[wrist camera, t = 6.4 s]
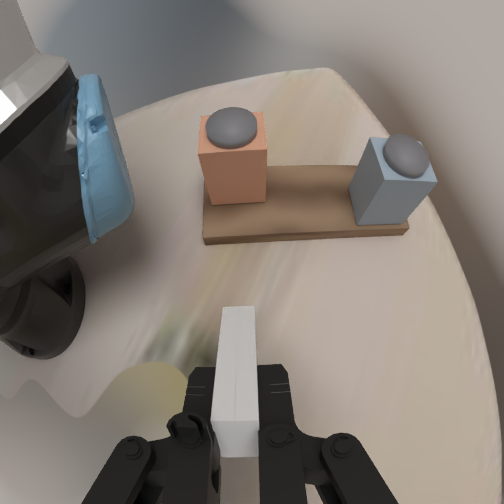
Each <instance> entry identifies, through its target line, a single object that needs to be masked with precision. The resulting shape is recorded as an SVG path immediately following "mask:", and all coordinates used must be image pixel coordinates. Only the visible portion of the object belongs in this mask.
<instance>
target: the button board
mask: <svg viewBox="0 0 504 504" xmlns="http://www.w3.org/2000/svg"><path fill="white" fill-rule="evenodd" d="M357 167H358V166H350V165H302V166H268V167H267V171H266V202H255V203H237V204H222V205H212V204H211V200H210V197H209V193H208V189H207V186H206V182H205V179H204V203H203V240H204V242H205V245H214V244H231V243H249V242H268V241H287V240H307V239H327V238H348V237H370V236H392V235H403V234H404V233H405V232H406V231H407V230H408V229H409V224H408V221H407V219H406V220H405V221H404V222H403V224H377V225H357V224H356V219H355V215H354V210H353V206H352V201H351V197H350V193H349V189H348V187H349V185H350V182H351V180H352V178H353V176H354V173H355V171H356V169H357Z"/></svg>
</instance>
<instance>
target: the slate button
mask: <svg viewBox="0 0 504 504" xmlns="http://www.w3.org/2000/svg"><path fill="white" fill-rule="evenodd" d="M436 183H437V180H436V177H435V174H434V171H433V169H432V166H431V164H430V161H429V156H428V154H427V152H426V150H425V149H424V148H423V146H422V144H421V142H418V141H416V140H415V139H413V138H411V137H409V136H406V135H402V134H395V135H392V136H390V137H389V138H375V137H370V138H369V141H368V143H367V145H366V148H365V150H364V153H363V155H362V157H361V160H360V162H359V164H358V167H357V169H356V171H355V173H354V176H353V178H352V180H351V182H350V185H349V187H348V189H349V193H350V197H351V201H352V206H353V210H354V215H355V219H356V224H357V225H377V224H403V222H404V221H405V220H406V219H407V218H408V217H409V216H410V214H411V213H412V212H413V211H414V210H415V209H416V207H417V206H418V205H419V204H420V203H421V202H422V200H423V199H424V198H425V197H426V196H427V194H428V193H429V192H430V191H431V189H432V188H433V187H434V186H435V185H436Z"/></svg>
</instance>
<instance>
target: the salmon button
mask: <svg viewBox="0 0 504 504" xmlns="http://www.w3.org/2000/svg"><path fill="white" fill-rule="evenodd" d="M198 156H199V160H200V164H201V167H202V171H203V175H204V179H205V182H206V186H207V189H208V193H209V197H210V200H211V204H212V205H222V204H237V203H255V202H266V171H267V144H266V135H265V126H264V117H263V112H250V111H248V110H246V109H243V108H238V107H230V108H224V109H221V110H218V111H216V112H215V113H213V114H212V115H208V116H201V121H200V133H199V145H198Z"/></svg>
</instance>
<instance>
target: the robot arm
mask: <svg viewBox="0 0 504 504" xmlns="http://www.w3.org/2000/svg"><path fill="white" fill-rule="evenodd" d="M133 208H134V193H133V189H132V184H131V181H130V177H129V173H128V169H127V166H126V162H125V159H124V155H123V151H122V148H121V144H120V141H119V137H118V134H117V130H116V127H115V123H114V120H113V116H112V113H111V109H110V106H109V102H108V99H107V96H106V93H105V90H104V88H103V85H102V81H101V78H100V76H99V75H97V74H89V75H87V74H84V75H82V76H81V77H80V78H79V79H77V78H76V77H75V76H74V74H73V72H72V70H71V67H70V66H69V63H68V61H67V59H66V58H63V57H58V56H53V55H48V54H43V53H40V51H39V50H37V48H36V47H35V44H34V42H33V40H32V38H31V35H30V33H29V31H28V28H27V26H26V23H25V21H24V18H23V16H22V13H21V10H20V8H19V5H18V2H17V0H0V340H1V341H3V342H4V343H5V344H7V345H8V346H9V347H11V348H12V349H14V350H15V351H16V352H18V353H19V354H21V355H24V356H26V357H30V358H37V359H49V358H52V357H55V356H57V355H59V354H60V353H61V352H63V351H64V350H65V349H66V348H67V347H68V346H69V344H70V343H71V342H72V340H73V339H74V337H75V335H76V333H77V331H78V329H79V327H80V324H81V320H82V317H83V312H84V305H85V289H84V282H83V278H82V274H81V272H80V269H79V267H78V265H77V264H76V262H75V261H74V259H73V258H72V257H71V256H70V255H71V254H73V253H75V252H77V251H78V250H80V249H82V248H84V247H86V246H88V245H90V244H94V243H95V242H97V241H98V238H100V237H101V236H103V235H104V234H106V233H108V232H109V231H111V230H113V229H114V228H116V227H118V226H119V225H121V224H123V223H124V222H125V221H126V220H127V219H128V218H129V217H130V215H131V213H132V211H133ZM167 428H168V430H169V432H170V434H171V436H170V437H168V438H164V439H160V440H155V441H149V442H147V441H146V440H145V439H143V438H142V437H138V436H129V437H126V438H124V439H122V440H121V441H120V442H119V443H118V444H117V446H116V447H115V449H114V451H113V452H112V454H111V456H110V457H109V459H108V460H107V462H106V464H105V465H104V467H103V469H102V470H101V472H100V474H99V475H98V477H97V479H96V480H95V482H94V484H93V485H92V487H91V489H90V490H89V492H88V493H87V495H86V497H85V498H84V500H83V502H82V504H161V503H162V504H220V488H221V466H220V454H221V457H259V483H260V504H307V496H306V488H305V483H306V484H312V485H315V487H316V489H317V491H318V493H319V495H320V498H321V500H322V502H323V504H398V502H397V500H396V499H395V497H394V496H393V494H392V492H391V491H390V489H389V488H388V486H387V485H386V483H385V481H384V480H383V478H382V477H381V475H380V473H379V472H378V470H377V469H376V467H375V465H374V464H373V462H372V461H371V459H370V457H369V456H368V454H367V452H366V451H365V449H364V448H363V446H362V444H361V443H360V441H359V440H358V439H357V438H356V437H355V436H353V435H351V434H348V433H337V434H333V435H331V436H330V437H328V438H327V439H326V438H319V437H313V436H309V435H306V434H304V433H303V432H301V431H300V430H299V429H298V427H297V426H296V424H295V421H294V414H293V407H292V400H291V393H290V386H289V379H288V372H287V371H286V370H285V368H284V367H283V366H282V364H273V365H257V346H256V328H255V309H254V306H234V307H223V311H222V319H221V328H220V337H219V345H218V354H217V363H216V367H196V368H195V369H194V370H193V372H192V373H191V374H190V376H189V380H188V385H187V390H186V396H185V401H184V406H183V412H181V413H179V414H176V415H174V416H173V417H172V418H171V419H170V420H169V421H168V423H167Z"/></svg>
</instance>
